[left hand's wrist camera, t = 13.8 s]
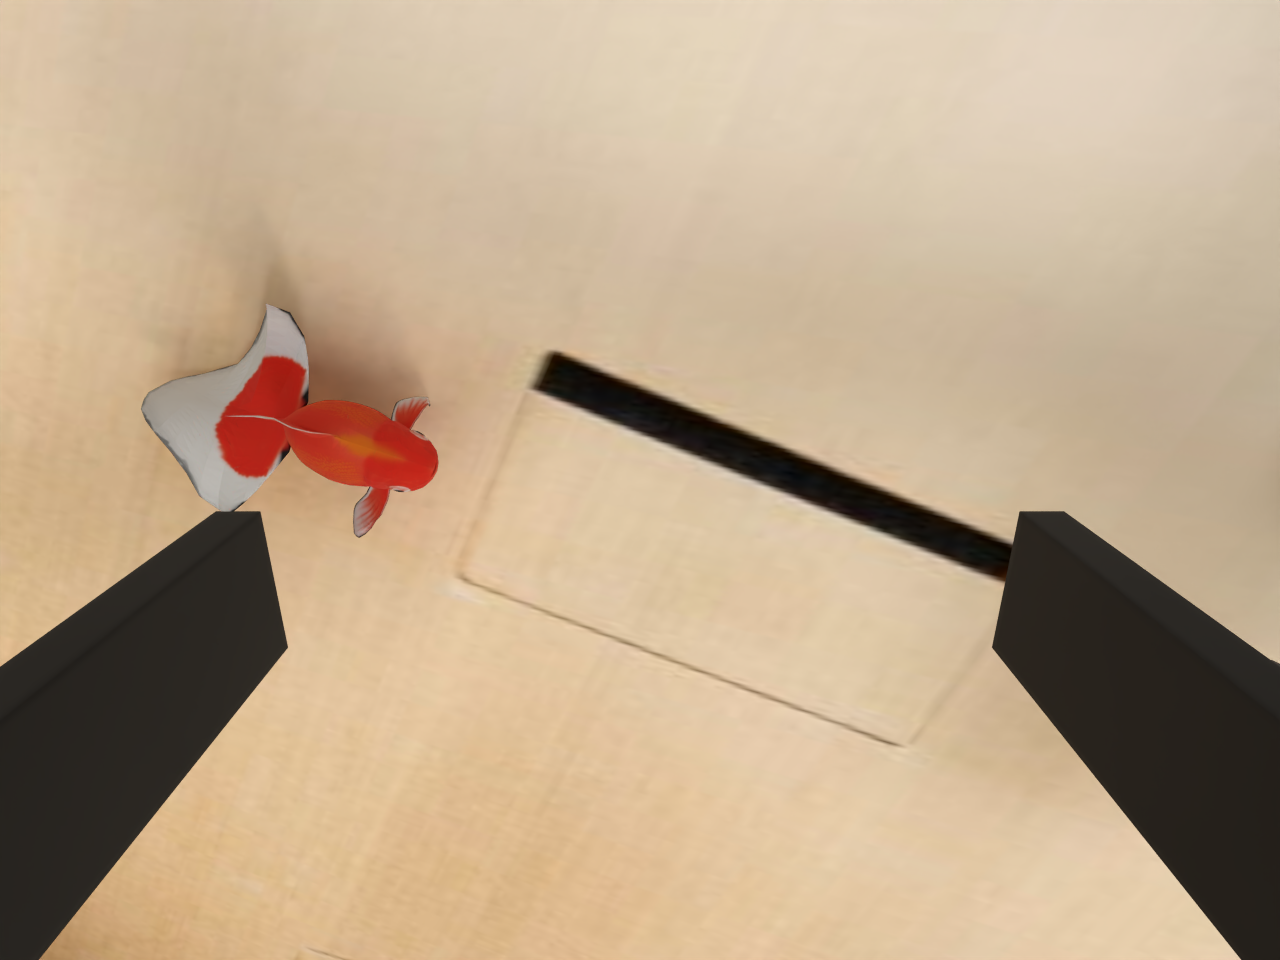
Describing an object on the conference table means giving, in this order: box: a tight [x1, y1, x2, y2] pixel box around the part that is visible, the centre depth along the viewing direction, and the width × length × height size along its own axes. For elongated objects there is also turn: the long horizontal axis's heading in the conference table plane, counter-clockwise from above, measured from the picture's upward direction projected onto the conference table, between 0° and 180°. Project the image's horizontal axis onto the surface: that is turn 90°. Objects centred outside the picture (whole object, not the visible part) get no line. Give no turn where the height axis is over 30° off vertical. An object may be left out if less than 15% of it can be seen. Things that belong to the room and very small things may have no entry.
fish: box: [141, 304, 438, 538], centre depth 37 cm, size 11×16×10 cm
